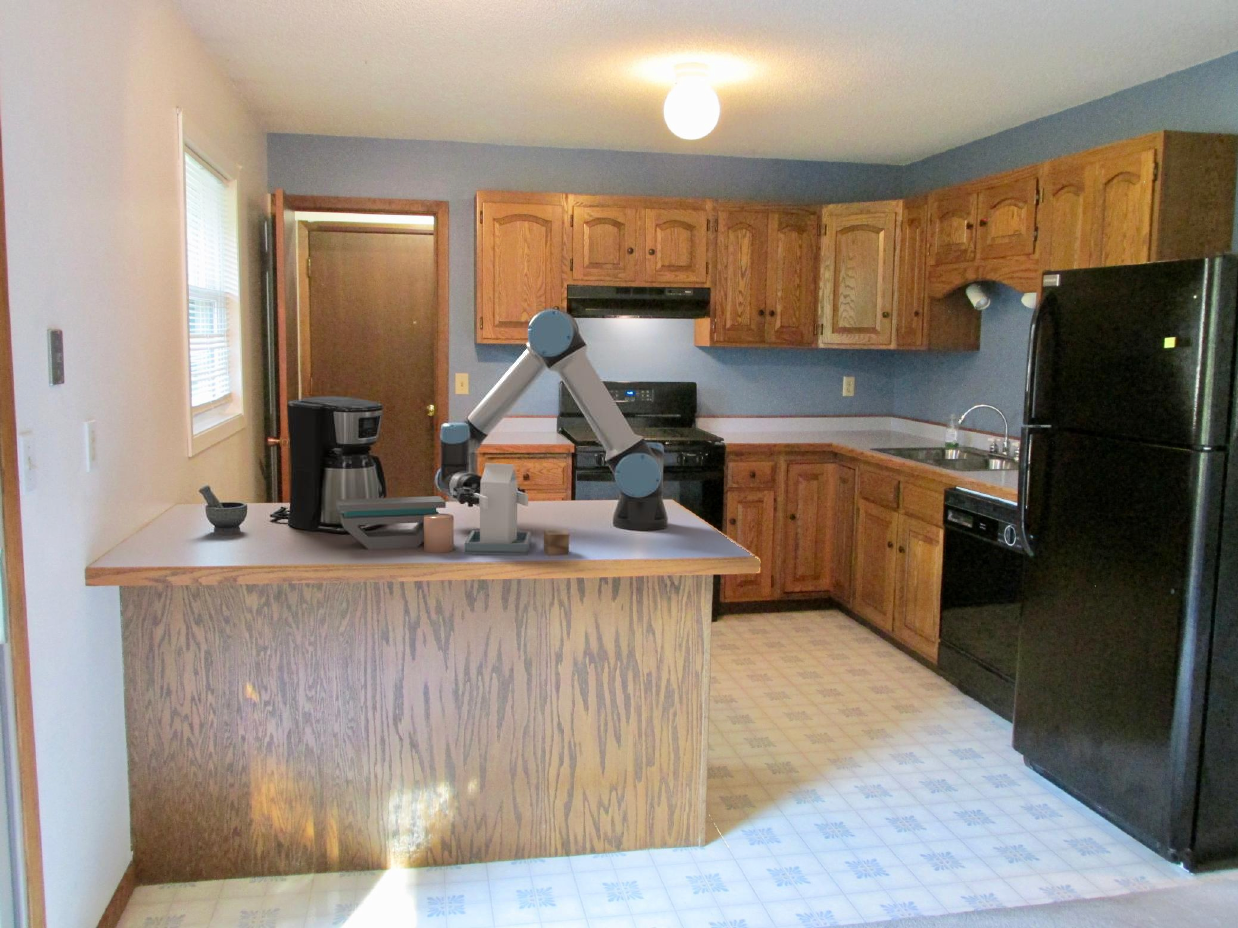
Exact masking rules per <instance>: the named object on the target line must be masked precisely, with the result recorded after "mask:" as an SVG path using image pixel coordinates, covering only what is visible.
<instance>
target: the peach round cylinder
mask: <svg viewBox="0 0 1238 928" xmlns="http://www.w3.org/2000/svg"><path fill="white" fill-rule="evenodd" d="M454 520H455V519H454V515H453V514H451V513H442V512H441V513H440V512H438V514H428V515H425V516H424V541H423V551H424V550H425V551H424V552H426V553H431V554H433V553H435V554H443V553H444V554H445V553H449V552H452V551H454V548H455V545H454V544H455V543H454V542H455V540H454V538H455V537H454V536H455V532H454V529H455V528H454V527H455V525H454V524H455V521H454Z"/></svg>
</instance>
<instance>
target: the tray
mask: <svg viewBox="0 0 1238 928" xmlns="http://www.w3.org/2000/svg"><path fill="white" fill-rule="evenodd" d="M531 536H532V532H531V531H518V530H517V539H516V540H514V541H513V542H511V543H480V530H471V531H470V533H469V535H468V536H467V538H466V540H465V541H464V554H465V555H501V556H502V555H504V556H506V555H508V556H511V555H512V556H515V555H516V556H527V555H528V553H529V549H530V545H531V541H532V537H531Z"/></svg>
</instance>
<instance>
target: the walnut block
mask: <svg viewBox="0 0 1238 928" xmlns="http://www.w3.org/2000/svg"><path fill="white" fill-rule="evenodd" d="M569 551H570V534H569V533H568V531H566V530H565V529H559V530H558V529H557V530H556V529H553V530H543V552H544V553H545V554H546V555H547V556H565V555H566V556H567V555H569V553H570V552H569Z"/></svg>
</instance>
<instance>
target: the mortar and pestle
mask: <svg viewBox="0 0 1238 928" xmlns="http://www.w3.org/2000/svg"><path fill="white" fill-rule="evenodd" d="M198 492H199V494H201V495H202V497H203V498H204V500H205V502H206V505H205V506H204V508H205V515H206V518H207V520H208V521H209V523H210V524H211V525H213V533H214V534H215V535H234V534H235V535H236V534H238V533H241V528H240V526H241V525H242V524H243V523H244V522H245V520H246V518H247V516H248V515H247V514H248V504H247V503H245V502H239V501H221V502H220V500H219V499H218V498H217V496H216V495H215V494H214V492H213V491H212V490H211V485H209V484H208V485H204V486H202V487H201V488H200V489H199V490H198Z"/></svg>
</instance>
